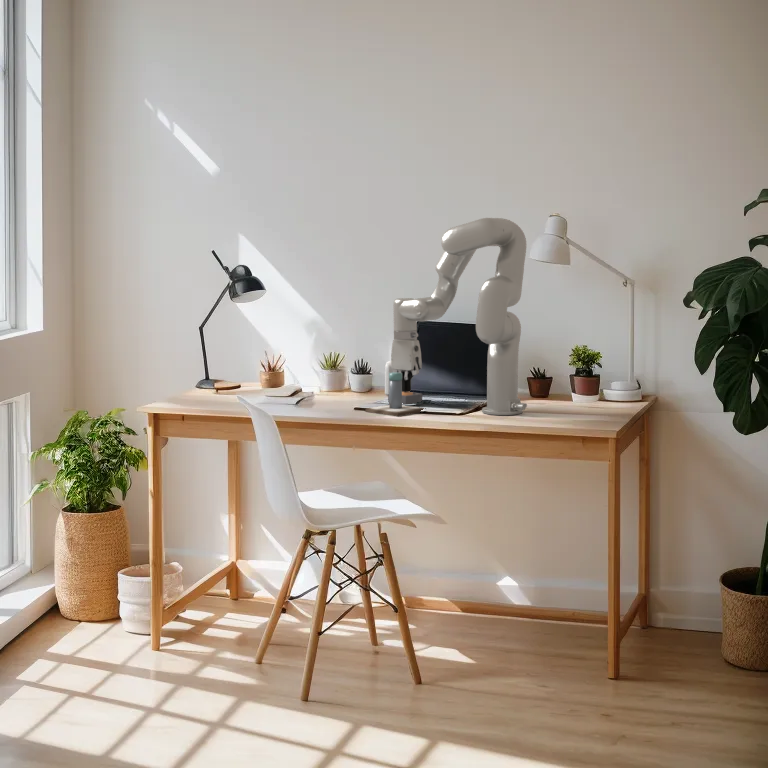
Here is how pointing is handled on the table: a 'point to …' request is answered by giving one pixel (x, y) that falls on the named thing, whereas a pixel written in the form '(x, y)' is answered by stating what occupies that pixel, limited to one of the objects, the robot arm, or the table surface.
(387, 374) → the photo printer
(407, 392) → the button
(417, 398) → the button housing
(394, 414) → the board
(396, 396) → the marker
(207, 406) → the table surface
